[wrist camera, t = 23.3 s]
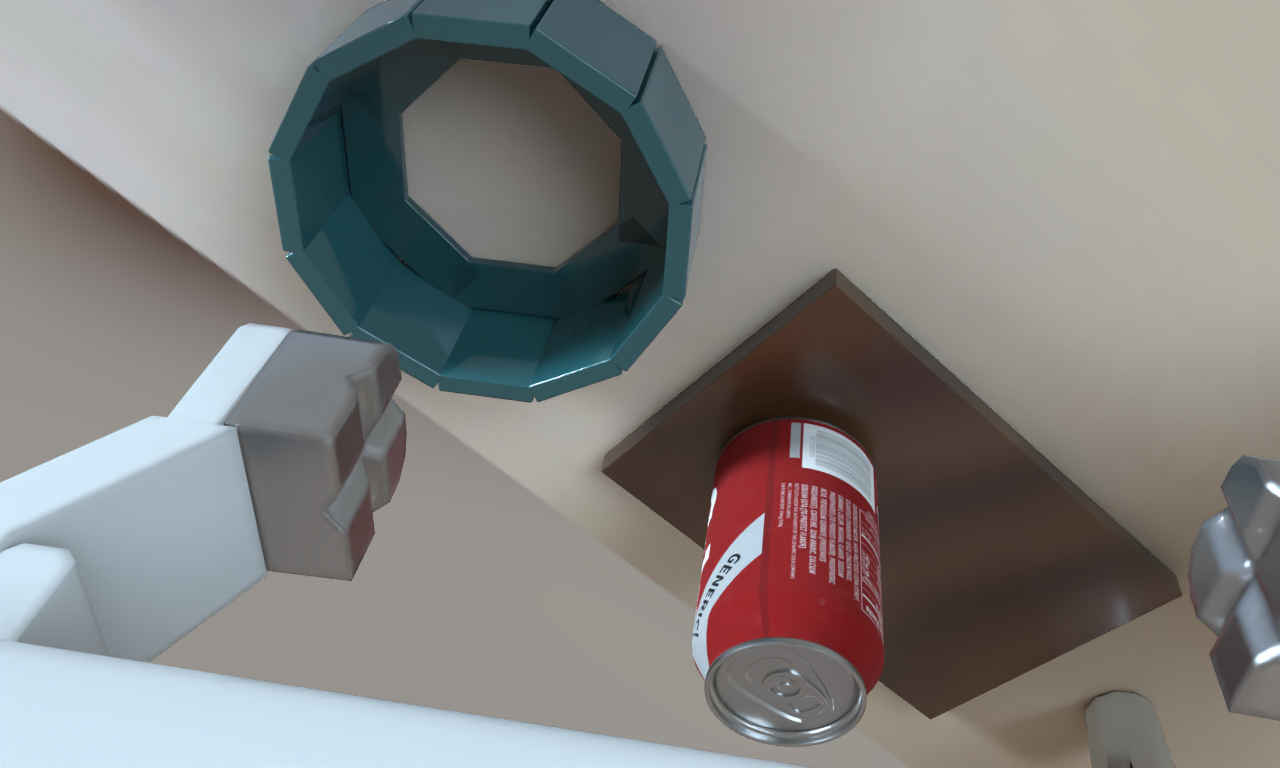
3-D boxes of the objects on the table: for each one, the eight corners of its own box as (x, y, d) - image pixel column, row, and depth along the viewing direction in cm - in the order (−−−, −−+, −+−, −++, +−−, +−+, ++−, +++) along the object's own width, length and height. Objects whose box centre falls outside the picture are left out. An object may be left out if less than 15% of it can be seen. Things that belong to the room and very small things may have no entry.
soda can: (809, 379, 44) (801, 602, 35) (908, 481, 47) (926, 717, 37) (684, 455, 48) (646, 678, 38) (783, 547, 50) (770, 779, 41)
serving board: (1176, 575, 49) (1183, 595, 48) (929, 700, 57) (930, 719, 56) (836, 267, 43) (835, 283, 42) (604, 454, 50) (600, 471, 49)
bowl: (722, -9, 37) (707, 43, 33) (688, 347, 46) (673, 422, 42) (302, -50, 38) (240, -5, 34) (347, 304, 47) (302, 373, 43)
